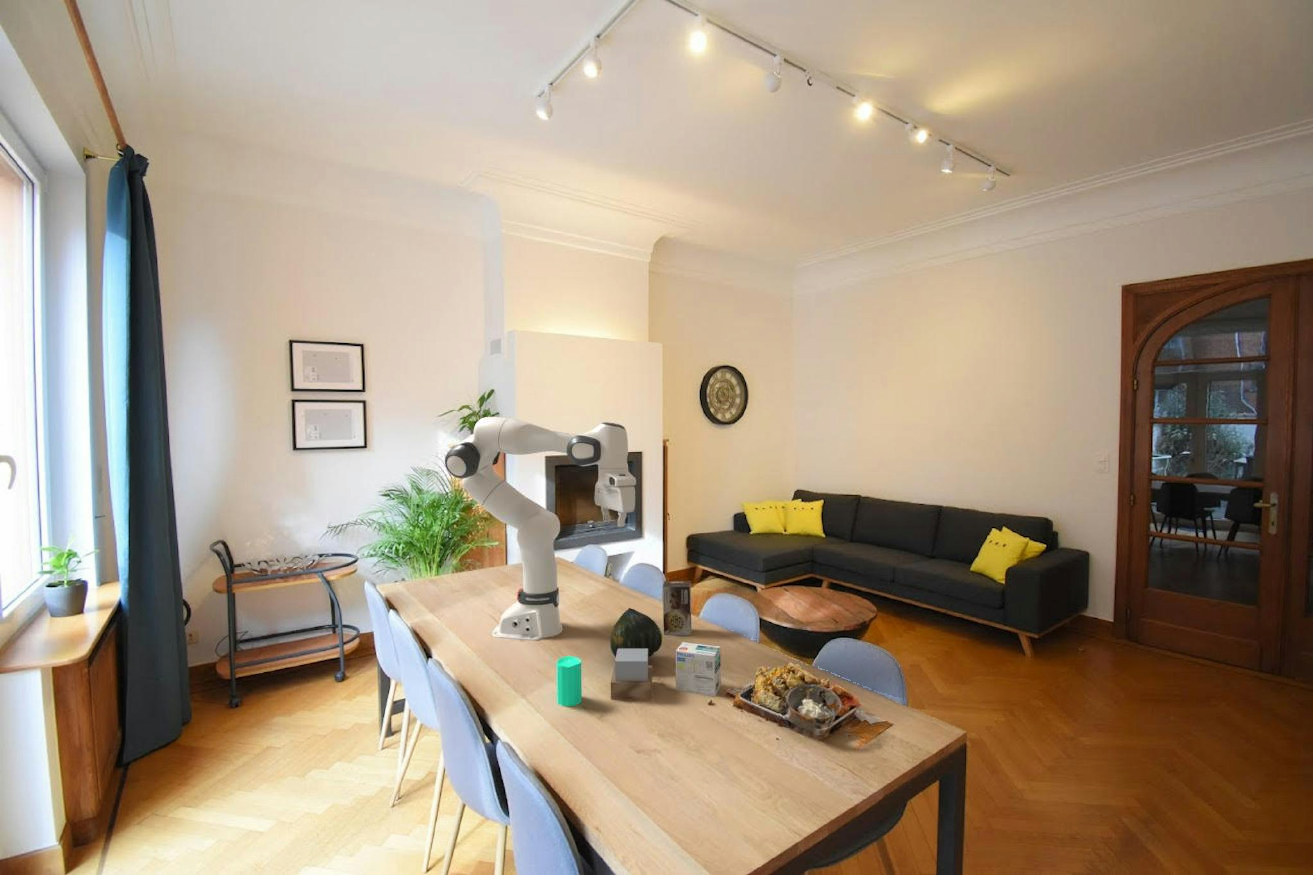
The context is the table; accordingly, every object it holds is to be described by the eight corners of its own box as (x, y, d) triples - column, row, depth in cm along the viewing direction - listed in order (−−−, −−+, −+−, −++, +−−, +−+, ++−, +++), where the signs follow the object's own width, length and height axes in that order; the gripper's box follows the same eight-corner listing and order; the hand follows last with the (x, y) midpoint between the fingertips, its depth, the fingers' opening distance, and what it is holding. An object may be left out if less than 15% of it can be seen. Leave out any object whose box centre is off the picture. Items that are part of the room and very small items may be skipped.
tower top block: (615, 681, 145) (615, 661, 145) (617, 667, 153) (617, 648, 153) (647, 681, 145) (647, 661, 145) (648, 667, 153) (648, 648, 153)
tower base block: (610, 702, 144) (610, 682, 144) (614, 683, 154) (614, 665, 154) (651, 702, 144) (651, 682, 144) (652, 684, 154) (652, 665, 154)
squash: (600, 665, 166) (599, 612, 165) (637, 649, 177) (636, 600, 176) (635, 680, 156) (635, 624, 156) (672, 662, 167) (672, 610, 166)
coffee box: (691, 628, 194) (691, 580, 193) (690, 636, 187) (690, 586, 187) (664, 628, 195) (664, 580, 194) (662, 635, 188) (662, 585, 188)
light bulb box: (721, 686, 152) (721, 645, 152) (715, 697, 146) (715, 655, 146) (682, 680, 156) (682, 640, 155) (675, 691, 149) (674, 650, 149)
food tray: (894, 727, 133) (894, 681, 132) (832, 772, 116) (832, 719, 116) (770, 676, 159) (770, 638, 159) (705, 707, 142) (705, 664, 142)
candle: (558, 697, 146) (557, 650, 146) (582, 696, 147) (581, 649, 147) (556, 709, 140) (555, 660, 140) (581, 708, 141) (580, 659, 141)
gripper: (589, 475, 180) (589, 519, 180) (619, 480, 162) (619, 530, 162) (607, 474, 183) (608, 518, 183) (638, 479, 165) (639, 528, 165)
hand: (613, 524), depth 173 cm, fingers open, 8 cm apart
